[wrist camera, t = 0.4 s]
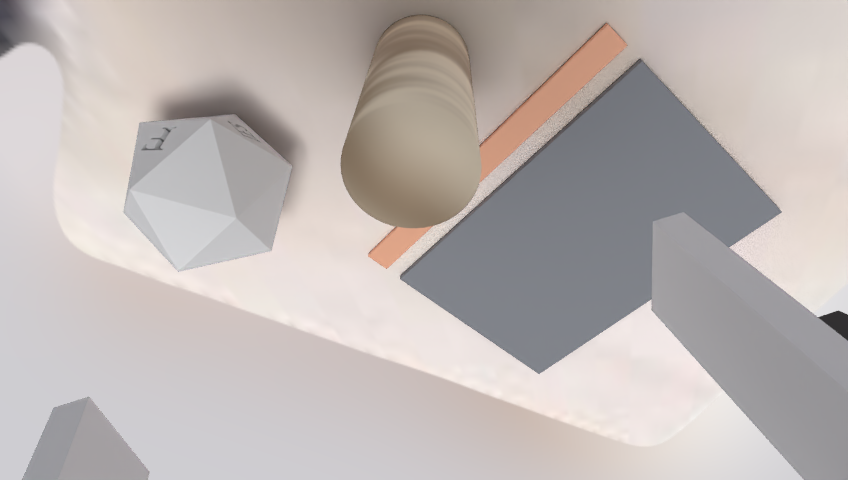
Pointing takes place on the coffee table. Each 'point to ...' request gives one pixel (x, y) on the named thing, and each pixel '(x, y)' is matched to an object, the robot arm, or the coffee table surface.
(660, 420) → the coffee table surface
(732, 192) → the mat
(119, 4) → the coffee table surface
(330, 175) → the coffee table surface
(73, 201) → the coffee table surface
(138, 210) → the die
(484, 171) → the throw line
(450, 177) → the beige banded cylinder
